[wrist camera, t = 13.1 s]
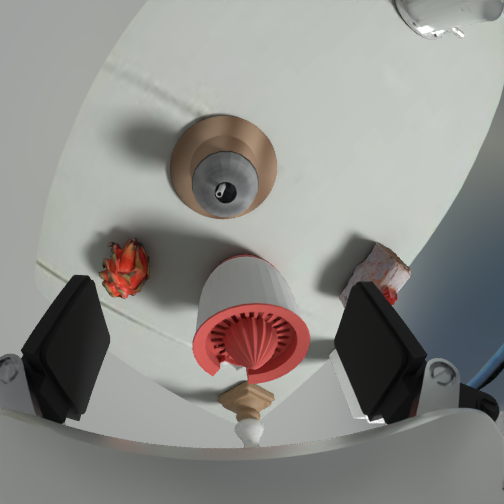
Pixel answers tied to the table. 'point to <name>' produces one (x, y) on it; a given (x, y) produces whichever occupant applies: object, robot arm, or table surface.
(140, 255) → the dragon fruit
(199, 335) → the citrus juicer
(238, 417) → the candle holder
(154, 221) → the table surface
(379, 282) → the food item
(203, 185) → the beverage cup
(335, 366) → the milk
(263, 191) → the brown round plate
